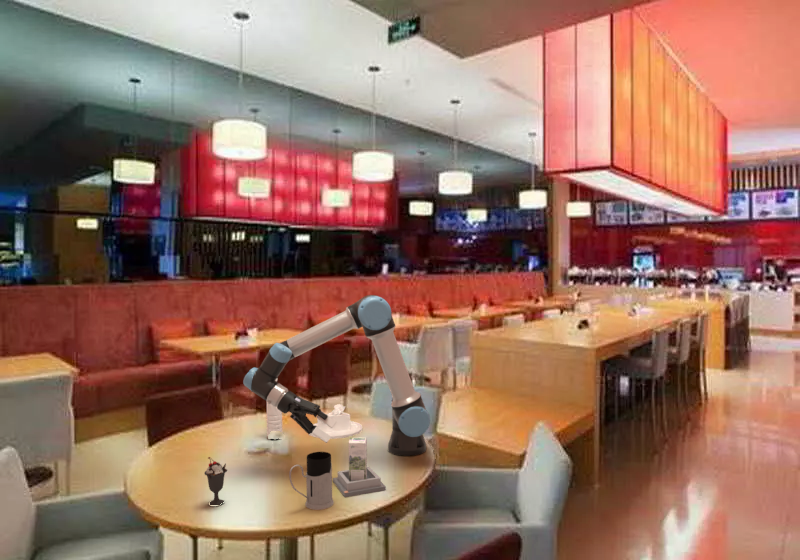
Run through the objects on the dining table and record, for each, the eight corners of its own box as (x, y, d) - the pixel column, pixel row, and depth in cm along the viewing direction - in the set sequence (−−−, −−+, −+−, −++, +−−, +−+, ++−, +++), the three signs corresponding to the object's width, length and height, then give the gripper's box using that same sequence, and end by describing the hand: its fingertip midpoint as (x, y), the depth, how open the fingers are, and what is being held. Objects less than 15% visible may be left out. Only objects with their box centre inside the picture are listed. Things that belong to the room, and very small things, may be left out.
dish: (340, 419, 268) (340, 396, 268) (373, 430, 249) (373, 405, 249) (296, 430, 251) (295, 405, 251) (328, 443, 233) (327, 416, 233)
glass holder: (338, 504, 172) (338, 456, 172) (296, 517, 164) (295, 466, 164) (325, 495, 180) (324, 449, 179) (284, 506, 171) (283, 458, 171)
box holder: (371, 475, 196) (371, 464, 196) (385, 490, 183) (385, 478, 183) (332, 481, 191) (332, 470, 191) (344, 497, 178) (344, 485, 178)
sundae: (200, 506, 172) (199, 458, 172) (215, 497, 179) (214, 451, 178) (217, 509, 170) (216, 460, 170) (231, 500, 176) (231, 453, 176)
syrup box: (367, 478, 190) (366, 436, 189) (366, 485, 184) (365, 442, 183) (350, 479, 190) (349, 436, 189) (348, 485, 184) (348, 442, 183)
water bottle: (281, 440, 237) (280, 381, 236) (266, 441, 236) (265, 382, 235) (283, 434, 245) (282, 377, 244) (268, 434, 244) (267, 378, 244)
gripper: (273, 421, 206) (320, 453, 203) (278, 391, 187) (330, 426, 184) (286, 405, 211) (332, 437, 208) (292, 375, 192) (343, 409, 189)
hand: (331, 432), depth 196 cm, fingers open, 13 cm apart
